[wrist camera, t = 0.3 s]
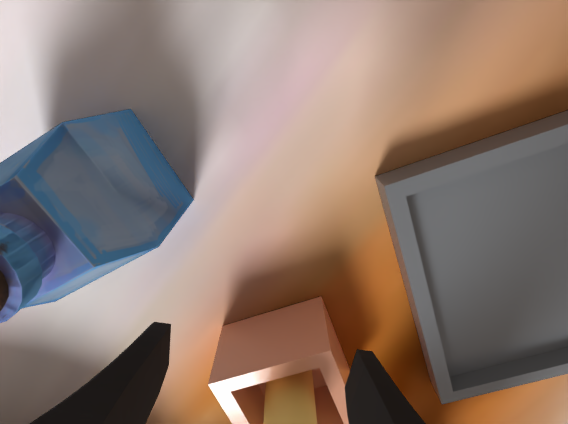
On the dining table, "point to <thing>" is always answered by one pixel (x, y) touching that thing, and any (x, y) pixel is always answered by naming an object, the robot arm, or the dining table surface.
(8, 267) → the perfume bottle
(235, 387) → the peach hollow square block
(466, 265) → the tray
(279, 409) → the dowel
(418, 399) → the dining table surface
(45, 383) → the dining table surface
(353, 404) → the robot arm
